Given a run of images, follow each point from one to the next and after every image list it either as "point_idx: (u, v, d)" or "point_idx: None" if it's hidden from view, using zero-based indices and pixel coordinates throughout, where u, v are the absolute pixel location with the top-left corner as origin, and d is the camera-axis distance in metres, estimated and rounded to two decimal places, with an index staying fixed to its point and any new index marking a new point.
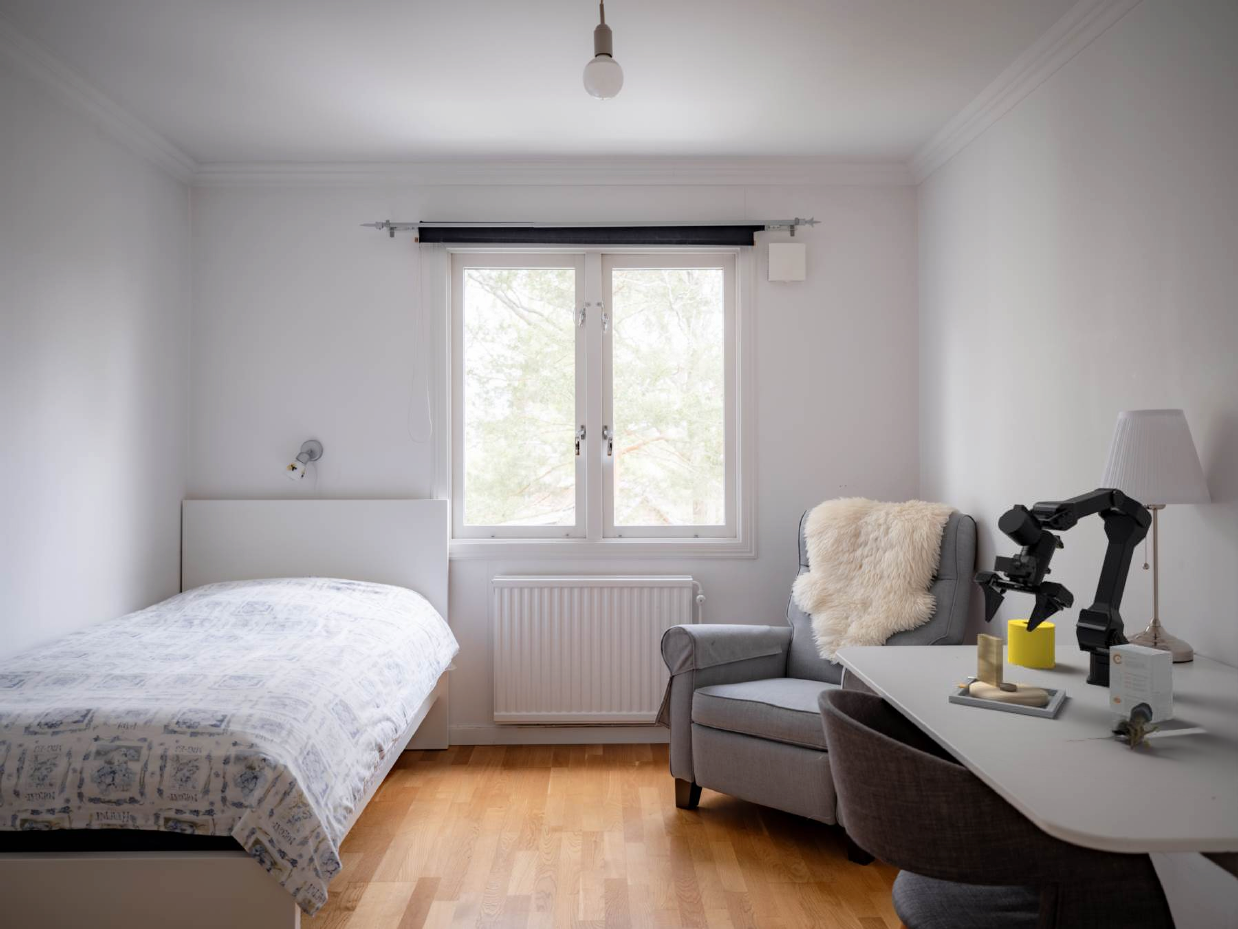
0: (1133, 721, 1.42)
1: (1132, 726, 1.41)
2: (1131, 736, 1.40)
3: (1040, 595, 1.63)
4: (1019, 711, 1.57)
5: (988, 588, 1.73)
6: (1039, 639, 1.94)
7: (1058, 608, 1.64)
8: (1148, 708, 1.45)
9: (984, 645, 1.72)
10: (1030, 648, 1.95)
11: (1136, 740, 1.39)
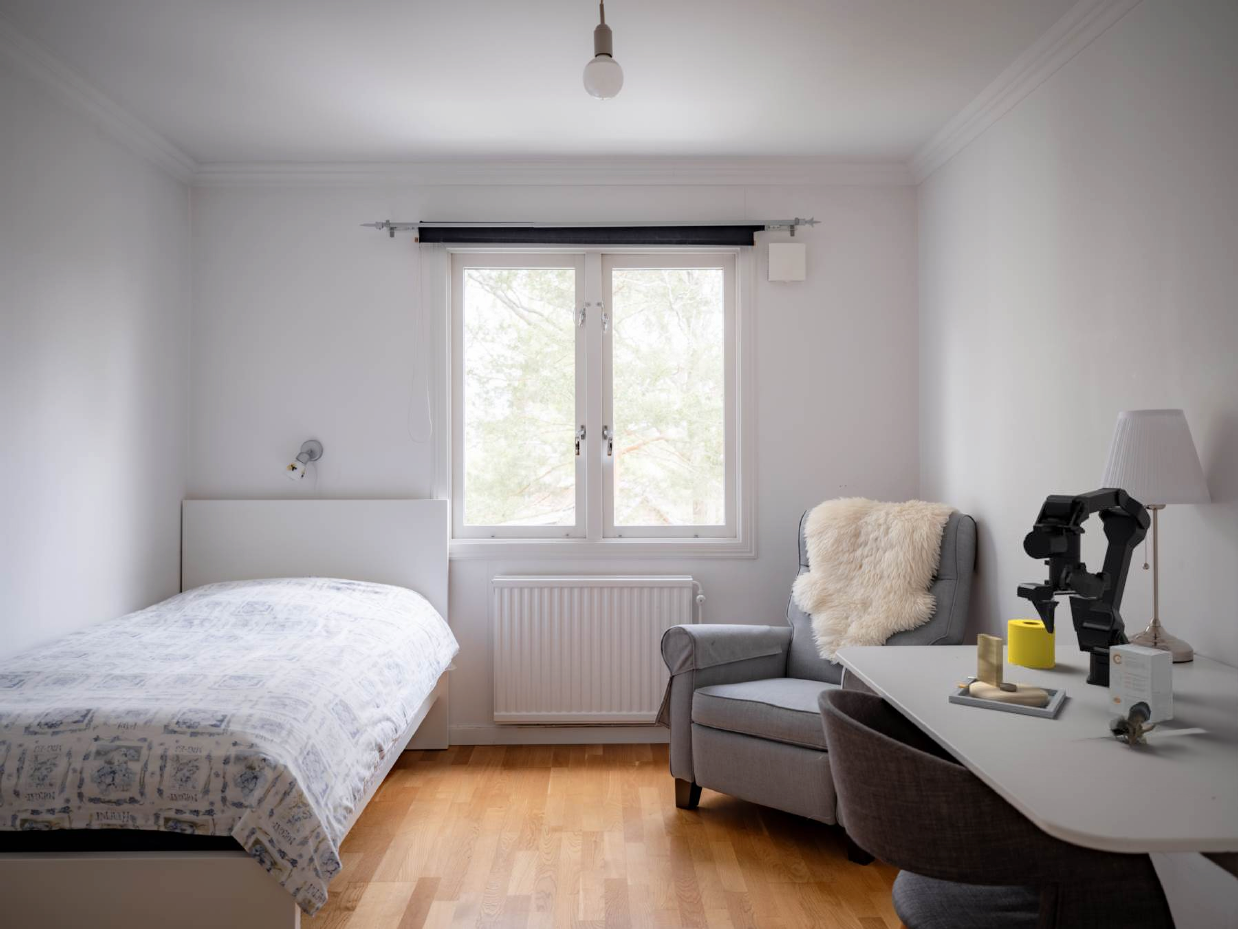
0: (1131, 720, 1.43)
1: (1130, 725, 1.42)
2: (1130, 735, 1.40)
3: (1095, 601, 1.71)
4: (1019, 711, 1.57)
5: (1056, 604, 1.69)
6: (1039, 639, 1.94)
7: None
8: (1146, 707, 1.45)
9: (984, 645, 1.72)
10: (1030, 648, 1.95)
11: (1134, 739, 1.40)
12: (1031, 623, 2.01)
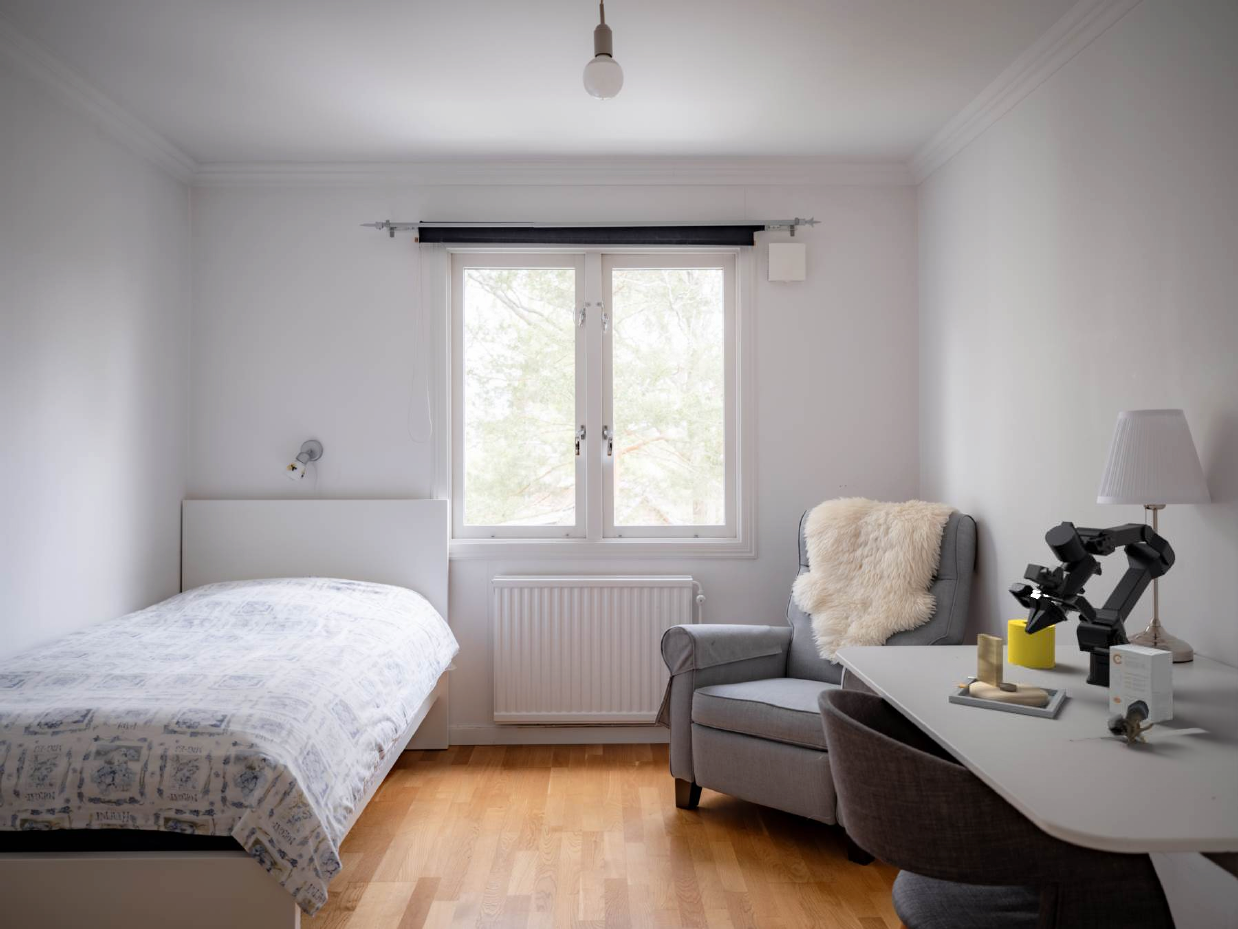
0: (1130, 718, 1.44)
1: (1129, 723, 1.42)
2: (1128, 733, 1.41)
3: (1044, 601, 1.72)
4: (1019, 711, 1.57)
5: (1034, 601, 1.75)
6: (1039, 639, 1.94)
7: (1062, 618, 1.72)
8: (1144, 705, 1.46)
9: (984, 645, 1.72)
10: (1030, 648, 1.95)
11: (1132, 737, 1.41)
12: None
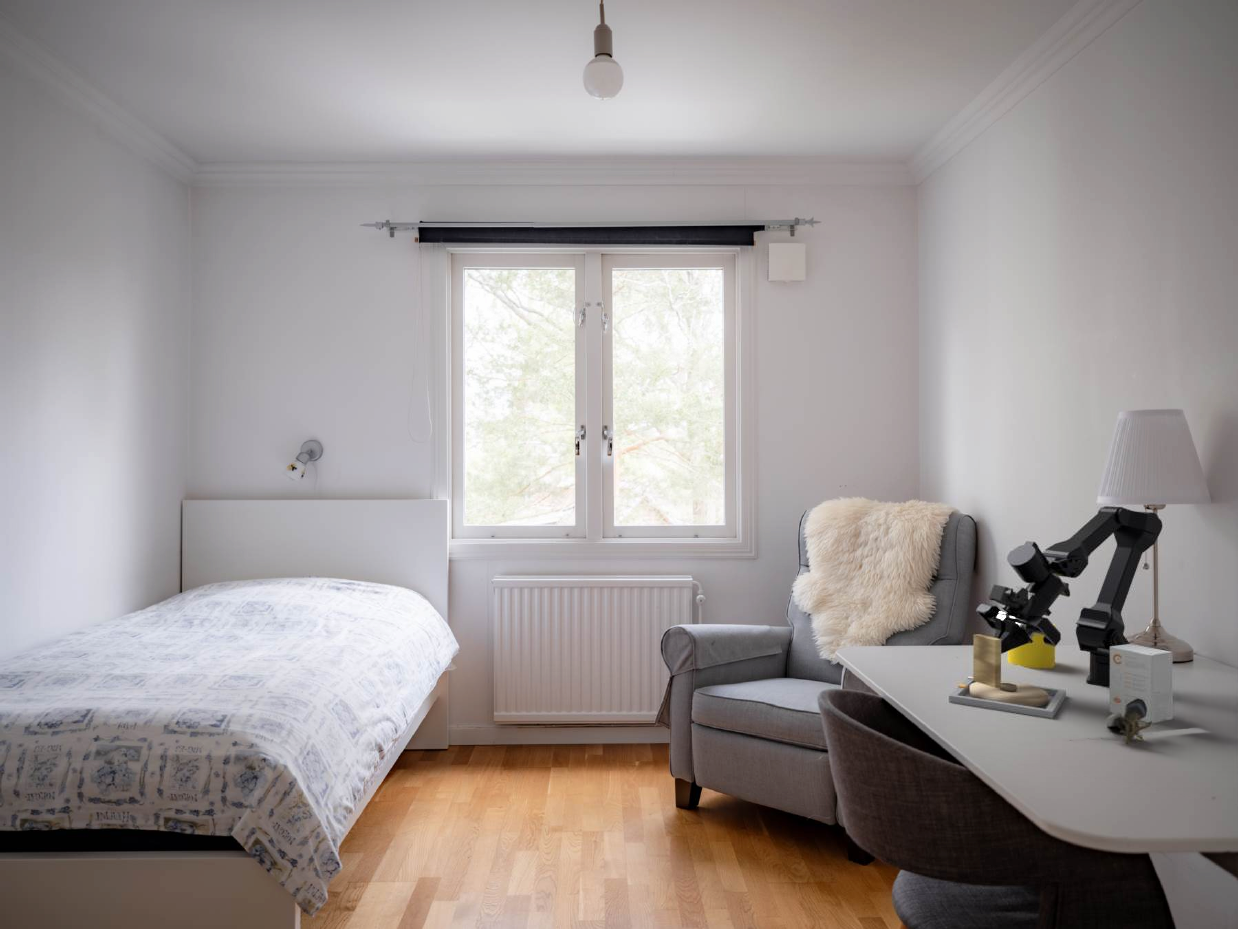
0: (1128, 717, 1.45)
1: (1127, 722, 1.43)
2: (1126, 732, 1.42)
3: (1009, 622, 1.70)
4: (1019, 711, 1.57)
5: (1000, 622, 1.72)
6: (1039, 639, 1.94)
7: (1027, 640, 1.69)
8: (1142, 704, 1.47)
9: (981, 645, 1.71)
10: (1030, 648, 1.95)
11: (1130, 736, 1.42)
12: None
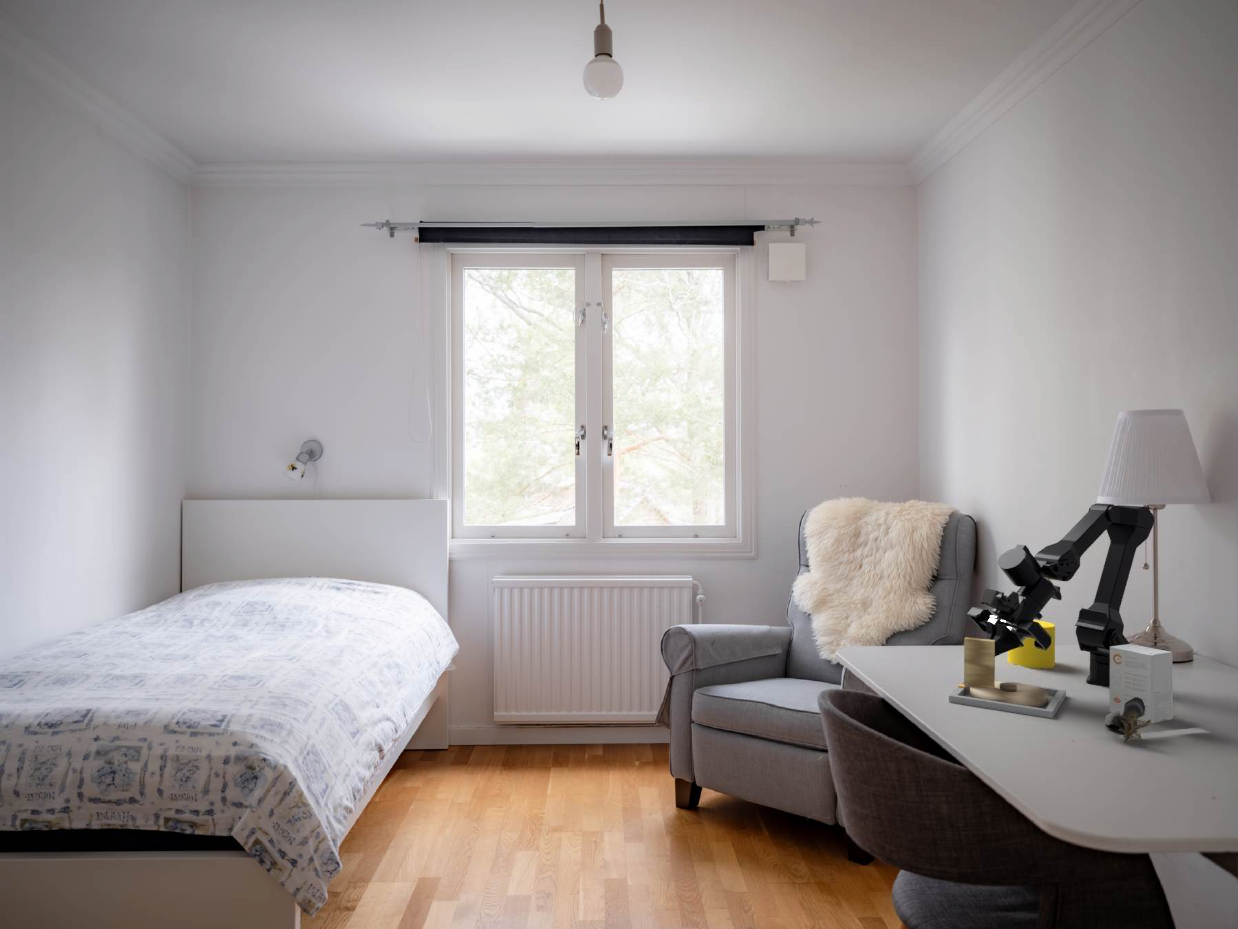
0: (1126, 715, 1.46)
1: (1125, 720, 1.44)
2: (1125, 730, 1.43)
3: (1000, 626, 1.69)
4: (1019, 711, 1.57)
5: (991, 626, 1.72)
6: None
7: (1018, 643, 1.69)
8: (1141, 703, 1.48)
9: (974, 649, 1.68)
10: (1030, 648, 1.95)
11: (1129, 734, 1.42)
12: None
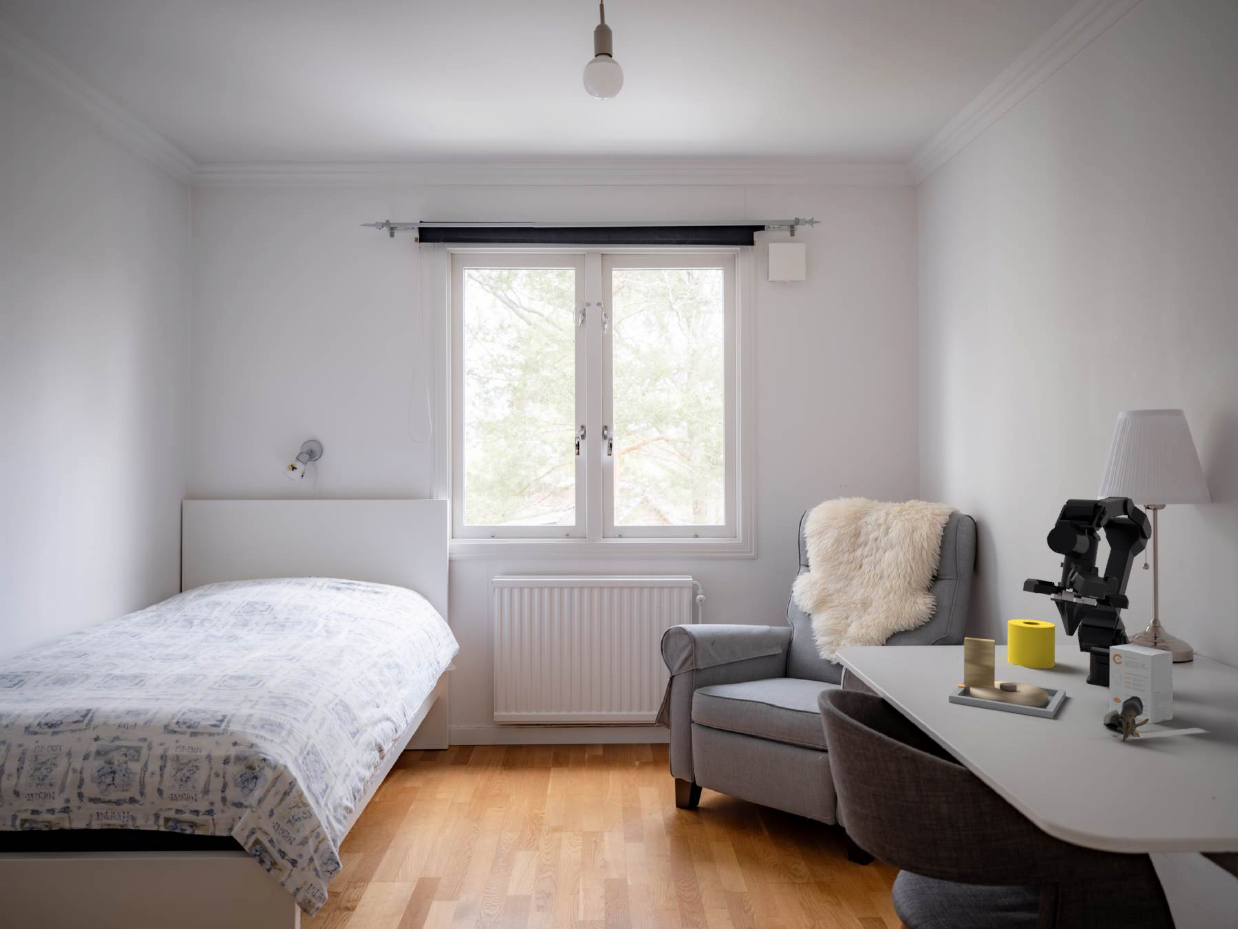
0: (1125, 714, 1.46)
1: (1124, 719, 1.45)
2: (1123, 729, 1.44)
3: (1090, 606, 1.69)
4: (1019, 711, 1.57)
5: (1074, 605, 1.70)
6: (1039, 639, 1.94)
7: None
8: (1139, 701, 1.49)
9: (974, 649, 1.68)
10: (1030, 648, 1.95)
11: (1127, 733, 1.43)
12: (1031, 623, 2.01)
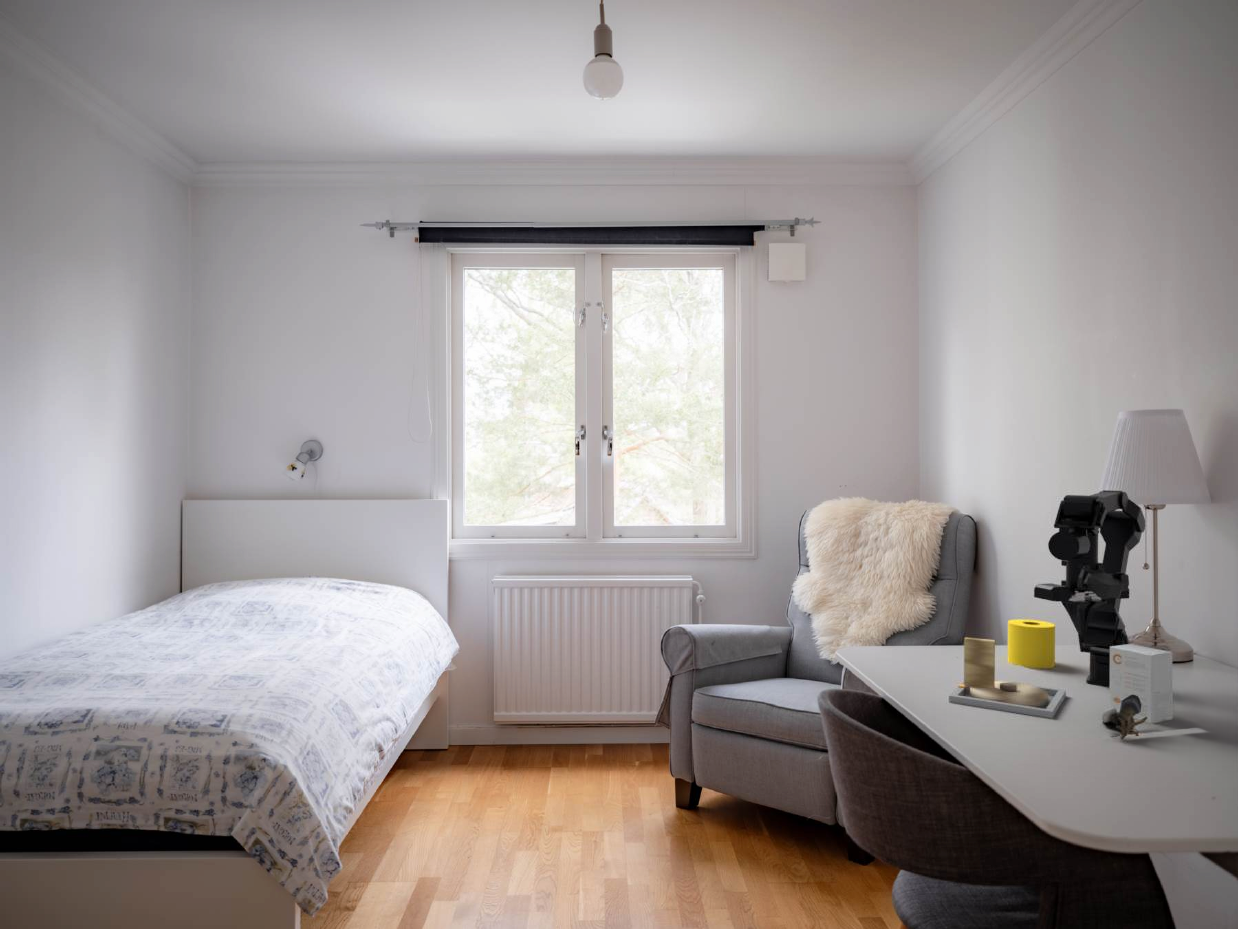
0: (1123, 713, 1.47)
1: (1122, 717, 1.46)
2: (1122, 727, 1.44)
3: (1100, 602, 1.70)
4: (1019, 711, 1.57)
5: (1087, 605, 1.69)
6: (1039, 639, 1.94)
7: None
8: (1137, 700, 1.50)
9: (974, 649, 1.68)
10: (1030, 648, 1.95)
11: (1126, 731, 1.44)
12: (1031, 623, 2.01)
